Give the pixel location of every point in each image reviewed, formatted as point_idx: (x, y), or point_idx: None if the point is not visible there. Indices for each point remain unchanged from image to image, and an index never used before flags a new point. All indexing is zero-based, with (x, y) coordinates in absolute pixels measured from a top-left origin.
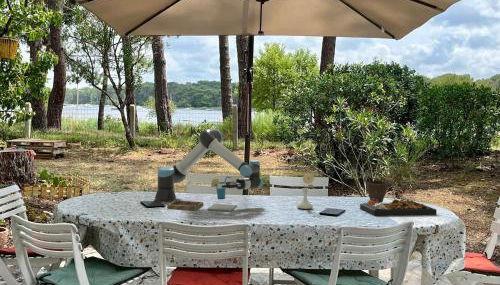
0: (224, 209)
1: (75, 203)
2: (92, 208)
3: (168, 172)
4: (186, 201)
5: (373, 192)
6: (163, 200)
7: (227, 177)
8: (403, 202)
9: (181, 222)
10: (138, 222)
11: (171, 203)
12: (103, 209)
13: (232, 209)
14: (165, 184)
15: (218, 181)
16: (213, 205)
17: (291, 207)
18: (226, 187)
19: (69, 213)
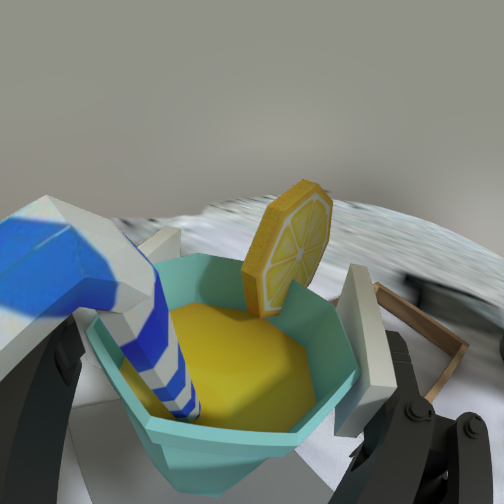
0: (114, 414)
1: (457, 239)
2: (408, 228)
3: None
4: (445, 370)
5: None
6: (501, 340)
7: (20, 272)
8: None
9: (151, 218)
10: (230, 199)
11: (401, 301)
12: (394, 229)
13: (84, 474)
14: None
15: (256, 249)
16: (307, 480)
17: None
18: (77, 354)
19: (369, 205)
